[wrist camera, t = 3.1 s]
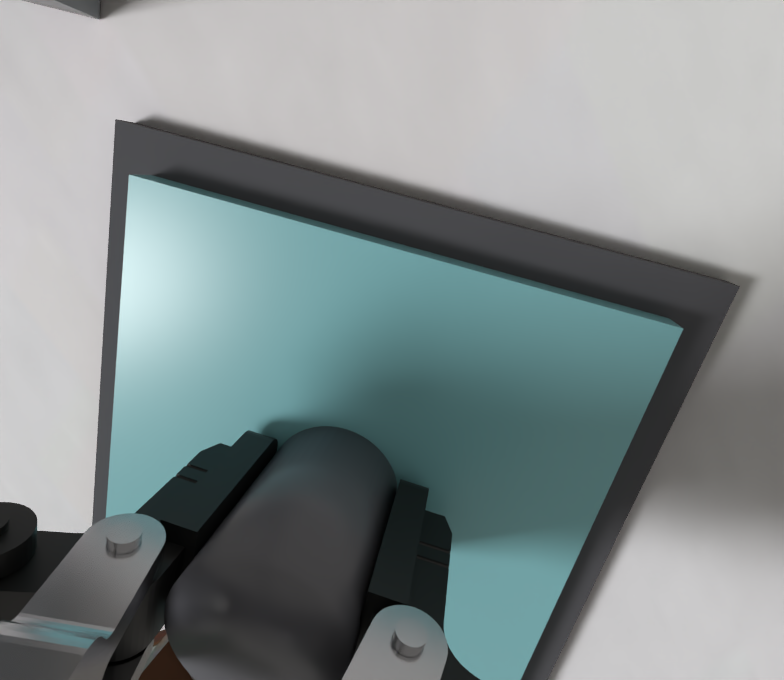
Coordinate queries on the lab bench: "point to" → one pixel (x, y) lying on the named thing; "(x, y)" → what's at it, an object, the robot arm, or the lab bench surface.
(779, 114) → the lab bench surface
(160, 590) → the robot arm
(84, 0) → the tub
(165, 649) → the food container
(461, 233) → the mat
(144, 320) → the lid
